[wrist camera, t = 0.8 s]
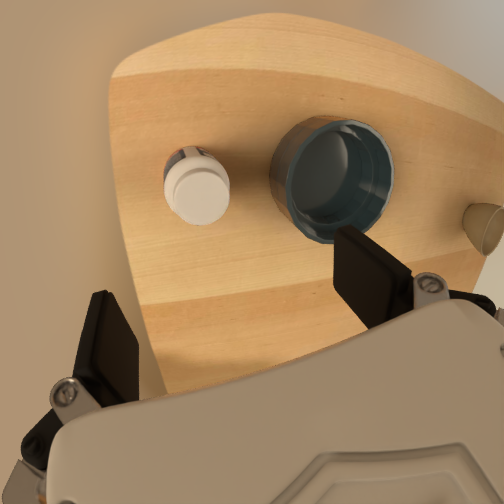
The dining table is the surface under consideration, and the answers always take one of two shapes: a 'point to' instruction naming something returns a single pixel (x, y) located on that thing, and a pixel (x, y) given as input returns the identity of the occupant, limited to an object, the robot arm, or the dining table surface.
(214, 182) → the pill bottle
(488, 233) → the flower pot
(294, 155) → the bowl
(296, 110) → the dining table surface
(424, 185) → the dining table surface
